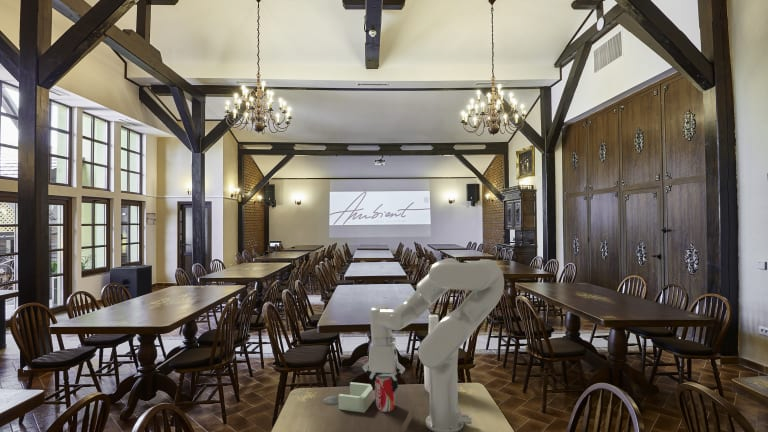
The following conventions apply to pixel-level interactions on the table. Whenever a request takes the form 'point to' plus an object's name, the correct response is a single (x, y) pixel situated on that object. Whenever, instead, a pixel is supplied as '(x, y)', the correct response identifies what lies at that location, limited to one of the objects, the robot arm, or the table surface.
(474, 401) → the table surface
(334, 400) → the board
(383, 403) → the soda can
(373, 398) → the collar
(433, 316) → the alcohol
